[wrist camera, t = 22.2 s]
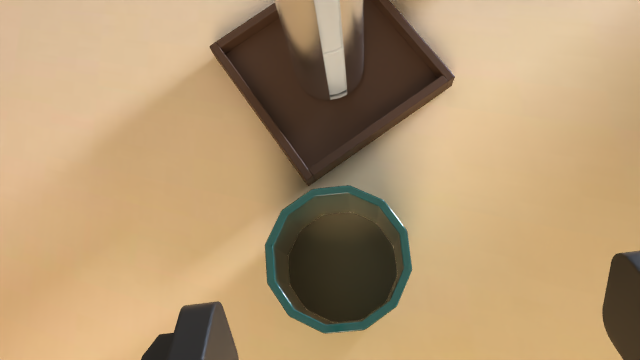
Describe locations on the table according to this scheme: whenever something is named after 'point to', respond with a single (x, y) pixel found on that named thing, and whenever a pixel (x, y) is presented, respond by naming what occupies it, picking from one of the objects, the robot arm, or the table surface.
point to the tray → (342, 114)
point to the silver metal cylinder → (325, 44)
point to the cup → (308, 212)
